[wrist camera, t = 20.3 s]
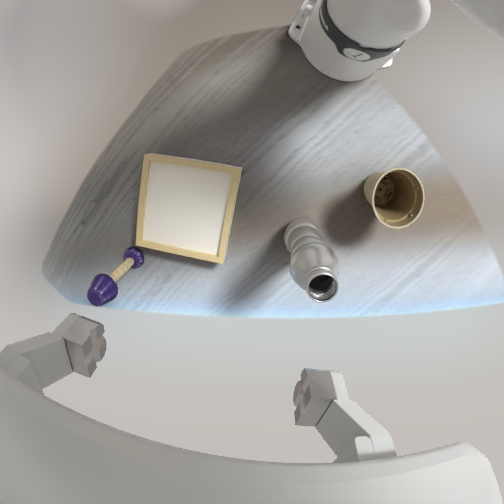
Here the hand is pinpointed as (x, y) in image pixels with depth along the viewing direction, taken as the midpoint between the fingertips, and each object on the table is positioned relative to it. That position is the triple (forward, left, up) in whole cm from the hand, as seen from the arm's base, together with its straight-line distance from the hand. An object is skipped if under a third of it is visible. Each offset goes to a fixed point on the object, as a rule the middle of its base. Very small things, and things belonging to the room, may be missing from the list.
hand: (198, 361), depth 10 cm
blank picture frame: (+4, -10, -39) cm, 41 cm away
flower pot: (-6, +22, -39) cm, 45 cm away
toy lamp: (+16, -19, -39) cm, 47 cm away
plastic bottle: (+5, +10, -39) cm, 41 cm away
